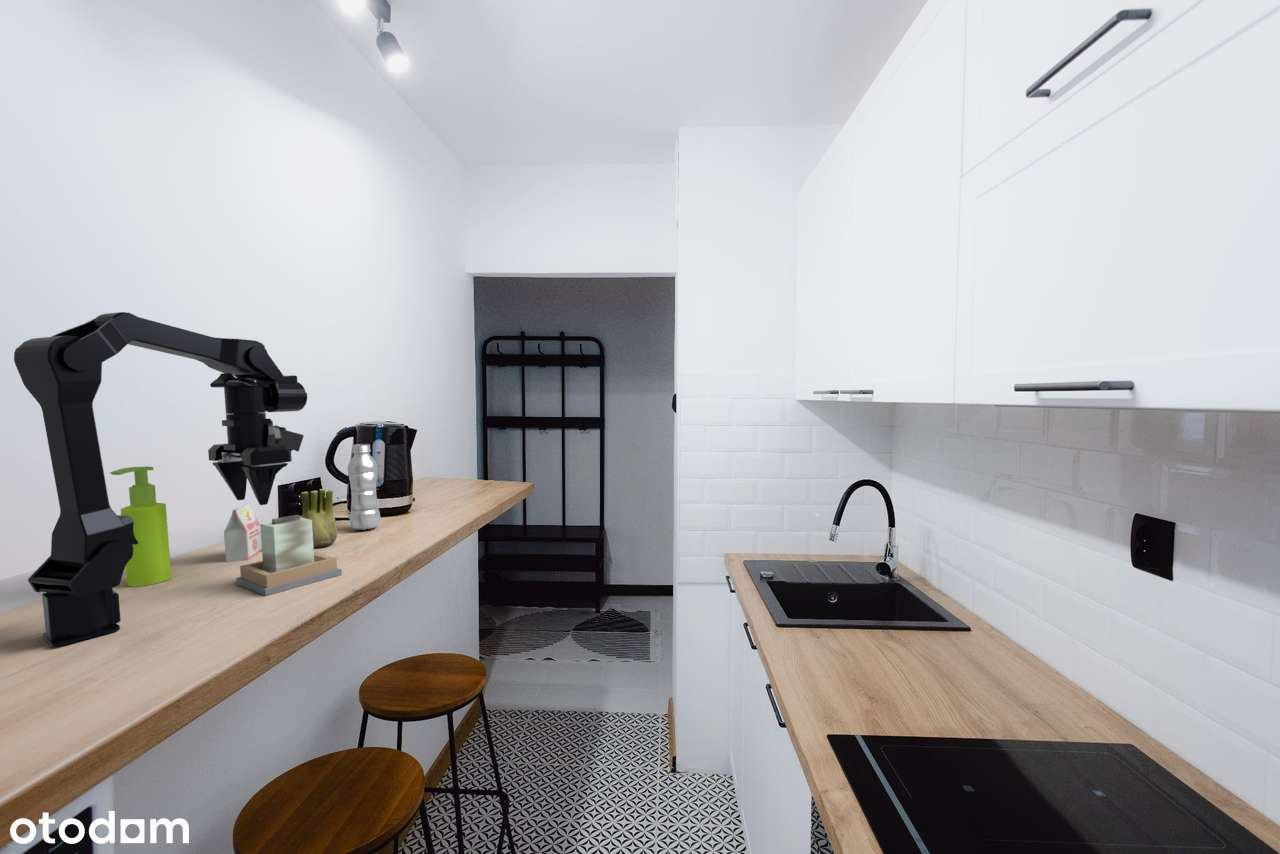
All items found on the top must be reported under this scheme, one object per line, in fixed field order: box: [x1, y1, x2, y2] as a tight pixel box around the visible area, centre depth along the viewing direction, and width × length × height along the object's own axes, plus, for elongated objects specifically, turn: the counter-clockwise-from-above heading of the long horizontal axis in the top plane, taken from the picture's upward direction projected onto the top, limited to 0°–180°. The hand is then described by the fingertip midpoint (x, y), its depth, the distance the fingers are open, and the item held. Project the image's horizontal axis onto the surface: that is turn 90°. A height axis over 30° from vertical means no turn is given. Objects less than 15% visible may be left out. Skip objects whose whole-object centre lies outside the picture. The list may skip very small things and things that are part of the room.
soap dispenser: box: [109, 466, 172, 587], centre depth 97 cm, size 6×7×20 cm
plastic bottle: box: [347, 443, 381, 531], centre depth 133 cm, size 6×7×20 cm
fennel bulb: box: [300, 488, 338, 548], centre depth 119 cm, size 6×5×12 cm
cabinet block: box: [260, 514, 315, 573], centre depth 97 cm, size 6×5×10 cm
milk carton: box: [223, 503, 262, 563], centre depth 112 cm, size 4×7×10 cm, turn 14°
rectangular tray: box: [235, 551, 342, 597], centre depth 97 cm, size 12×11×3 cm
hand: (252, 502), depth 100 cm, fingers open, 9 cm apart
